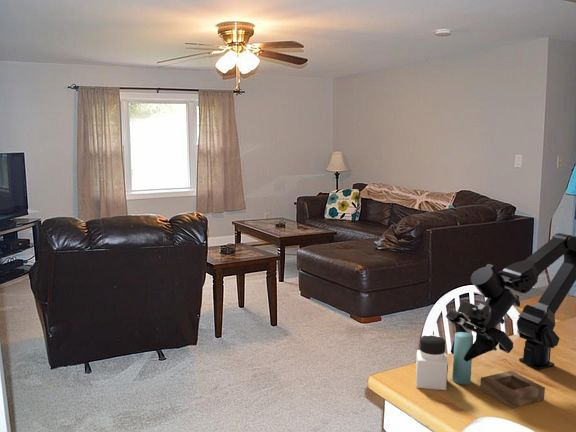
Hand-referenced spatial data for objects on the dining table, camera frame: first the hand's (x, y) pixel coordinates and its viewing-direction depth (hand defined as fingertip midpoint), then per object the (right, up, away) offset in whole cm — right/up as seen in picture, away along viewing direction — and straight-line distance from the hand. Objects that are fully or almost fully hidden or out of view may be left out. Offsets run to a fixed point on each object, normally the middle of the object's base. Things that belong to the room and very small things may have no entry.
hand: (458, 356), depth 134 cm
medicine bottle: (-7, -7, 0) cm, 10 cm away
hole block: (+11, -8, -6) cm, 14 cm away
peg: (+1, -6, +2) cm, 7 cm away
